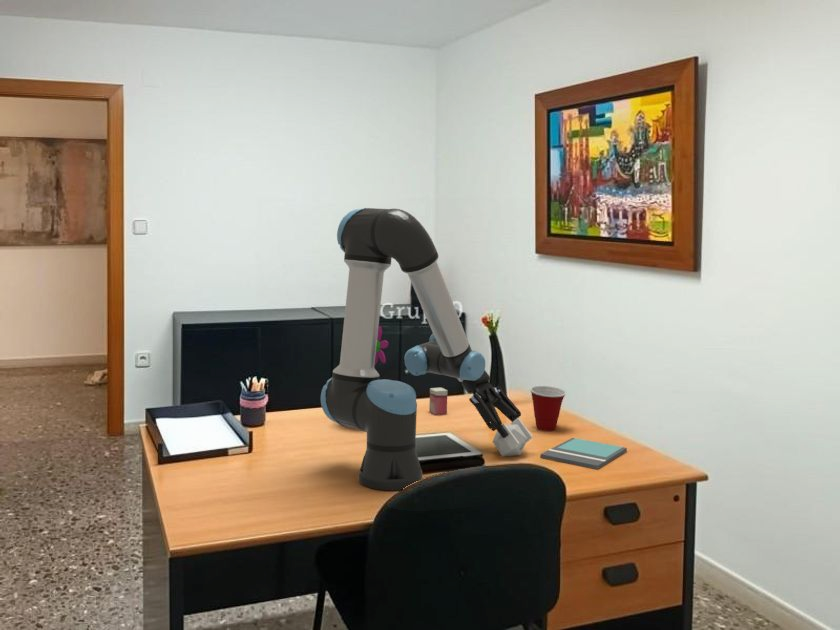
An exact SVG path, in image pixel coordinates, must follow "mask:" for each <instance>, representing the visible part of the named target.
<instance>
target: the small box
mask: <svg viewBox="0 0 840 630" xmlns="http://www.w3.org/2000/svg"><path fill="white" fill-rule="evenodd" d="M428 410H429V411H428V412H429V413H431V414H433V415H434V416H441V415H442V416H443V415H447V413H448V389H445V388H444V387H431V388H429V409H428Z"/></svg>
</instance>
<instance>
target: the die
mask: <svg viewBox="0 0 840 630" xmlns="http://www.w3.org/2000/svg"><path fill="white" fill-rule="evenodd" d="M506 426H507V427H508V428H509V430H510V431H511V432H512V434H513V435H514V436H515V438H516V439H517V440H518V442H519V444H518V445H517V446H516V447H515V448H513V449H511V448H510V447H509V445H508V444H507V443H506V441H505V440H504V439H503V437H502V436H501V435H500V434H499V432H498V431H497V430H496V433H495V435H494V438H493V440H492V443H493V445H494V446H495V448H496V449H497V450H498V452H499V454H500V455H501V457H515V456H521V455H522V452H523V450H524V448H525V446H526V444H527V443H526V441H527V439H528V438H527V437H526V436H525V434H524V433H523V431H522V430H521V428H520V427H519V426H518V424H516V425H511V424H506Z"/></svg>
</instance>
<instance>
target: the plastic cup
mask: <svg viewBox="0 0 840 630" xmlns="http://www.w3.org/2000/svg"><path fill="white" fill-rule="evenodd" d="M529 391H530V393H531V400H532V404H533V405H532V406H533V407H532V408H533V414H534V420H535V426H536V429H537V430H539V431H545V432H547V431H548V432H549V431H550V432H551V431H555V430H556V428H557V426H558V420H559V417H560V412H561V407H562V404H563V403H562V402H563V400H564V398H565V396H566V395H567V392H566V390H564V389H562V388H559V387H556V386H548V385H535V386H532V387H530V388H529Z"/></svg>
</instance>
